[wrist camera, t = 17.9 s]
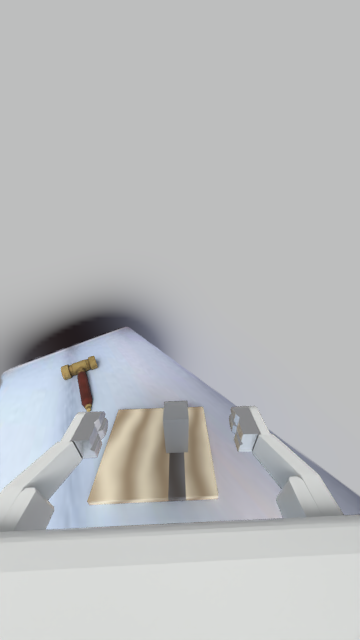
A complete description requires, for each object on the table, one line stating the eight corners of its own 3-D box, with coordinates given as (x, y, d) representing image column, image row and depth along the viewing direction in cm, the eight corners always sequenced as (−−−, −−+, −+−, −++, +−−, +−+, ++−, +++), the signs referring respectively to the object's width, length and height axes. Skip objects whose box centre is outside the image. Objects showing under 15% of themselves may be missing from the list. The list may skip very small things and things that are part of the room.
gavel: (107, 396, 42) (63, 417, 37) (110, 406, 45) (69, 427, 40) (93, 353, 57) (60, 364, 52) (96, 362, 59) (64, 373, 54)
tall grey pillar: (186, 432, 35) (187, 399, 30) (188, 452, 32) (188, 419, 27) (166, 432, 35) (164, 400, 30) (166, 453, 32) (162, 419, 27)
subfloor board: (202, 410, 41) (203, 406, 41) (217, 498, 27) (218, 495, 26) (119, 413, 41) (118, 409, 40) (89, 504, 27) (87, 501, 26)
